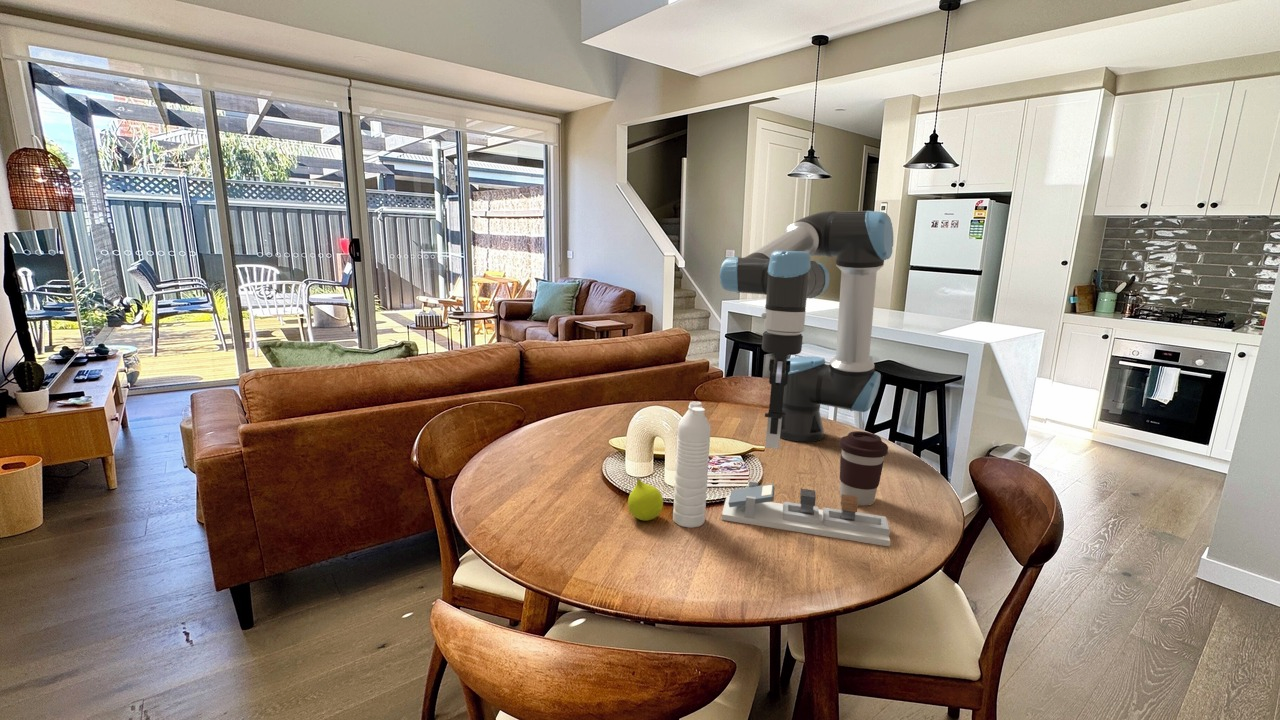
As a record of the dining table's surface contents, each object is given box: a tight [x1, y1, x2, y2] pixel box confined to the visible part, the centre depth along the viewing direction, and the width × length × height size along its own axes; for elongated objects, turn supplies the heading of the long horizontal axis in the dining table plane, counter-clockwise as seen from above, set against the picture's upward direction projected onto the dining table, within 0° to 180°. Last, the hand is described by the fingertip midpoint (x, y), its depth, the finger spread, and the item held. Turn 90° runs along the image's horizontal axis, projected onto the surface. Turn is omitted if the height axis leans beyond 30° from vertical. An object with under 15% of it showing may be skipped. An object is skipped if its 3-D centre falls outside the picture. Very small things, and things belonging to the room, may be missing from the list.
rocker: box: [729, 483, 775, 507], centre depth 117 cm, size 7×9×1 cm
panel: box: [721, 479, 891, 548], centre depth 114 cm, size 9×32×6 cm, turn 75°
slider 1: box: [799, 488, 817, 515], centre depth 114 cm, size 3×3×5 cm
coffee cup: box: [839, 430, 889, 507], centre depth 125 cm, size 10×10×15 cm
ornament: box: [627, 473, 664, 522], centre depth 113 cm, size 7×7×10 cm
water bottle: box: [672, 400, 712, 529], centre depth 110 cm, size 9×6×25 cm
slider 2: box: [840, 494, 859, 521], centre depth 112 cm, size 3×3×5 cm
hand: (772, 447), depth 113 cm, fingers closed
